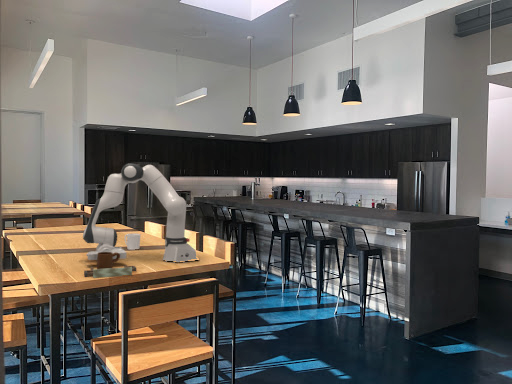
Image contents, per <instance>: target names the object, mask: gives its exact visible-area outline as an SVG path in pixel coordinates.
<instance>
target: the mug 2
mask: <svg viewBox="0 0 512 384" xmlns="http://www.w3.org/2000/svg"><path fill="white" fill-rule="evenodd" d="M141 235H142V234H141V233H134V232H133V233H127V234H125V235H124V242H125V245H126V247H127V250H128V251H136V250H135V249H139V250H140V243H141Z"/></svg>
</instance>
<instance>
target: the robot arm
mask: <svg viewBox="0 0 512 384" xmlns="http://www.w3.org/2000/svg"><path fill="white" fill-rule="evenodd" d="M140 181H142V182H144V183H145V184H146V185H147V187H148V188H149V189H150V190H151V191H152V193H153V194H154V195H155V196H156V198H157V199H158V200H159V202H160V204H161V205H162V206H163V208H164V209H165V210H166V212H167V218H166V219H167V220H166V231H165V233H166V235H165V239H164V253H163V257H162V261H163V260H166V261H165V262H167V261H176V262H180V261H188V260H191V259H197V258H196V256H197V252H196V248H194V247H192V245H190V244H189V242H190V240H191V239H190V238H186V237H185V232H186V231H185V229H186V227H185V226H186V216H187V215H186V214H187V201H186V200H185V199H184V197H182V196H179V194H178V193H177V191H176V190H175V189H174V187H173V186H172V184H171V183H170V182H169V181H168V180H167V178H166V177H165V176H164V175H163V173H162V172H161V171H159V169H158V168H157V167H155V165H152V164H147V165H145V166H143V167H142V166H140V165H139V164H138V165H137V164H135V163H126V164H124V165H123V166H122V169H121V171H120V173H111V174H110V175H109V176H108V177H107V180H106V183H105V186H104V192H103V194H102V196H101V198H98V199H97V200H96V201H95V203H94V205H93V209H92V211H91V213H90V216H89V219H88V221H87V224H86V226H85V228H84V231H83V234H82V238H83V241H84V242H85V243H87V244H97V245H96V248H95V251H94V250H93V251H92V250H91V251H88V252H87V253H86V255H85V256H87V260H88V261H97V256H98V253H100V252H112V253H115V252H116V253H119V254H120V258H119V260H122V259H124V260H125V259H127V251H126V250H125V249H123V247H119V246H116V245H117V243H118V242H117V241H118V233H117V231H116V229H115V228H113V227H104V226H103V227H102V226H97V225H96V223H97V220H98V218H99V215H100V213H101V212H102V211H104V210H107V209H111V208H116V207H118V206H119V205H120V204H121V203H122V202H123V199H124V194H125V189H126V186H128V185H135V184H137V183H139V182H140ZM116 258H117V255H116V256H114V257H113V259H116Z"/></svg>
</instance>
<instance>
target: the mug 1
mask: <svg viewBox="0 0 512 384" xmlns="http://www.w3.org/2000/svg"><path fill="white" fill-rule="evenodd" d="M116 255H117V258H116V259H113V257H114V256H116ZM119 258H120V254H119V253H116V252H115V253H112V252H100V253H98V256H97V260H96V261H97V262H96V269H108V268H113V265H114V263H116V262H118V261H119V260H120V259H119Z"/></svg>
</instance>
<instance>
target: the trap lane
mask: <svg viewBox="0 0 512 384" xmlns="http://www.w3.org/2000/svg"><path fill="white" fill-rule="evenodd" d="M89 268H90V269H89V270H84V271H83V276H84V278H90V277H91V278H93V279H95V278H98V279H99V278H110V277H111V278H112V277H114V278H115V277H123V276H122V275H130V276H133V272H132V271H136V272H137V267H136V266H135V265H127V264H124V266H123V267H112V268H108V269H97V268H96V269H95V268H94V266H90V267H89Z"/></svg>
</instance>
